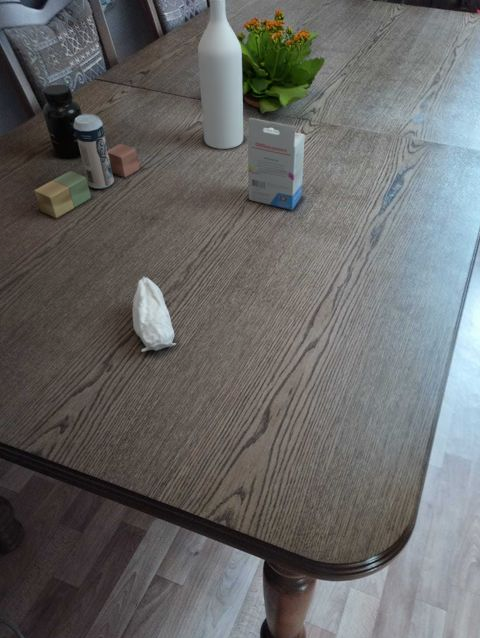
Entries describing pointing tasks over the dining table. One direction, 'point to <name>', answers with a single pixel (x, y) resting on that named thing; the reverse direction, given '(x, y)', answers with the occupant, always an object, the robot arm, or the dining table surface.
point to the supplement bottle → (61, 120)
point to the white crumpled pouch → (152, 317)
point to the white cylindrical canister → (93, 150)
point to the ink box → (275, 163)
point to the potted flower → (276, 63)
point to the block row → (82, 183)
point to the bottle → (221, 81)
